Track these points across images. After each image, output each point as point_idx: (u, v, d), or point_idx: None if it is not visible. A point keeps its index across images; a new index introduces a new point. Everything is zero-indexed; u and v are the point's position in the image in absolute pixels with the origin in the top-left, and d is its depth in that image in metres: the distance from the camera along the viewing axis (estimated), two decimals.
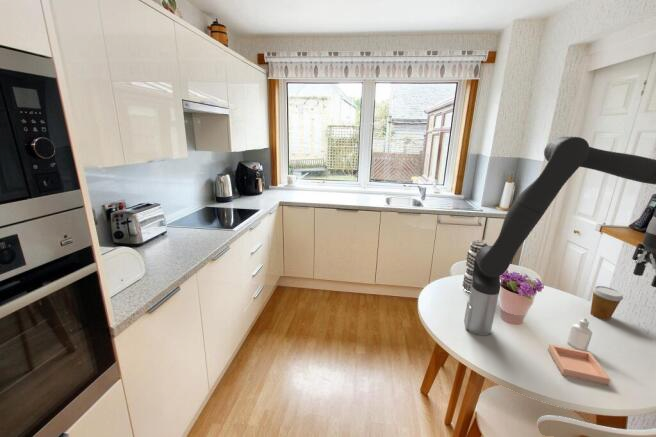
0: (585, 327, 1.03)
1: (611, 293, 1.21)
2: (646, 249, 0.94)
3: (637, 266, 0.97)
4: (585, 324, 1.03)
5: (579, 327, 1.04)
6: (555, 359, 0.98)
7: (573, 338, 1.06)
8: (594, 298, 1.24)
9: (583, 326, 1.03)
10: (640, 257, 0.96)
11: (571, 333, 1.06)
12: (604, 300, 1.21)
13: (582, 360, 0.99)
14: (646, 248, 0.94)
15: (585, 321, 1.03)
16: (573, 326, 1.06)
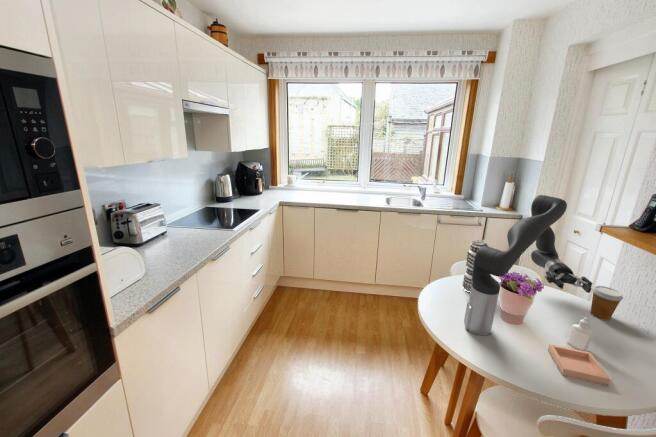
0: (585, 327, 1.03)
1: (611, 293, 1.21)
2: (557, 273, 1.21)
3: (560, 280, 1.16)
4: (585, 324, 1.03)
5: (579, 327, 1.04)
6: (555, 359, 0.98)
7: (573, 338, 1.06)
8: (594, 298, 1.24)
9: (583, 326, 1.03)
10: (560, 275, 1.18)
11: (571, 333, 1.06)
12: (604, 300, 1.21)
13: (582, 360, 0.99)
14: (557, 273, 1.21)
15: (585, 321, 1.03)
16: (573, 326, 1.06)
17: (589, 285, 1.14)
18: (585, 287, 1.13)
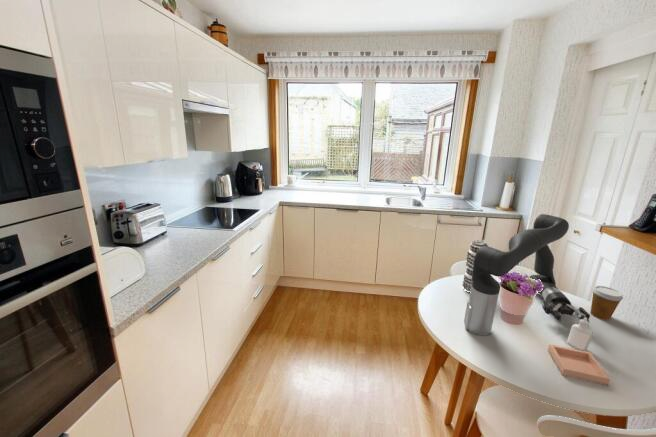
0: (585, 327, 1.03)
1: (611, 293, 1.21)
2: (555, 304, 1.20)
3: (557, 312, 1.14)
4: (585, 324, 1.03)
5: (579, 327, 1.04)
6: (555, 359, 0.98)
7: (573, 338, 1.06)
8: (594, 298, 1.24)
9: (583, 326, 1.03)
10: (557, 306, 1.17)
11: (571, 333, 1.06)
12: (604, 300, 1.21)
13: (582, 360, 0.99)
14: (554, 303, 1.20)
15: (585, 321, 1.03)
16: (573, 326, 1.06)
17: (587, 317, 1.13)
18: None
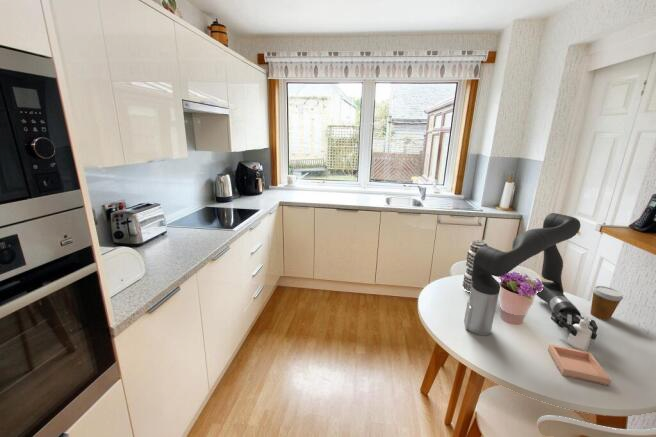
0: (585, 327, 1.03)
1: (611, 293, 1.21)
2: (563, 314, 1.13)
3: (573, 326, 1.06)
4: (586, 324, 1.03)
5: (579, 327, 1.04)
6: (555, 359, 0.98)
7: (573, 338, 1.06)
8: (594, 298, 1.24)
9: (583, 326, 1.03)
10: (569, 318, 1.09)
11: None
12: (604, 300, 1.21)
13: (582, 360, 0.99)
14: (562, 314, 1.13)
15: (585, 321, 1.03)
16: None
17: None
18: None
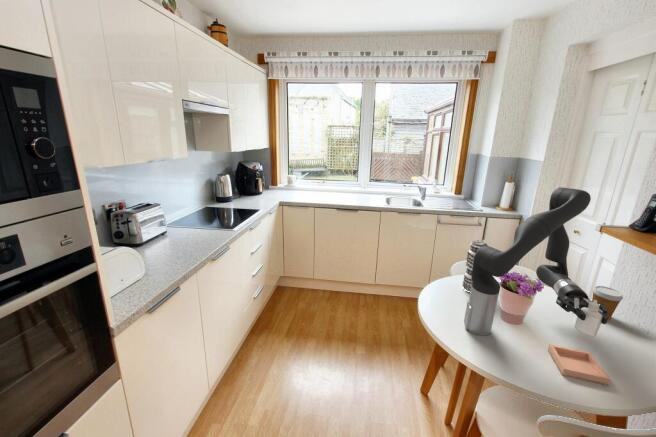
0: (595, 310, 0.93)
1: (611, 293, 1.21)
2: (569, 298, 1.03)
3: (581, 310, 0.96)
4: (595, 307, 0.93)
5: (588, 311, 0.94)
6: (555, 359, 0.98)
7: (581, 323, 0.96)
8: (594, 298, 1.24)
9: (593, 309, 0.93)
10: (577, 302, 0.99)
11: None
12: (604, 300, 1.21)
13: (582, 360, 0.99)
14: (568, 297, 1.03)
15: (595, 304, 0.93)
16: None
17: None
18: None
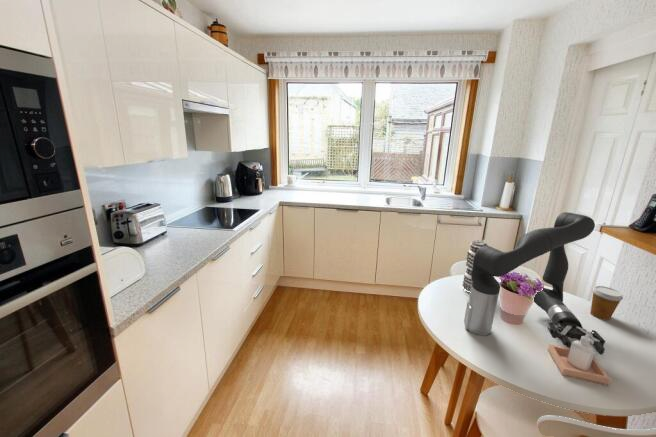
0: (586, 345, 0.93)
1: (611, 293, 1.21)
2: (563, 326, 1.02)
3: (566, 337, 0.97)
4: (587, 342, 0.93)
5: (580, 345, 0.94)
6: (555, 359, 0.98)
7: (573, 356, 0.96)
8: (594, 298, 1.24)
9: (585, 344, 0.93)
10: (566, 329, 0.99)
11: (571, 351, 0.97)
12: (604, 300, 1.21)
13: None
14: (562, 325, 1.03)
15: (587, 338, 0.93)
16: (573, 343, 0.96)
17: (601, 343, 0.95)
18: (597, 347, 0.94)
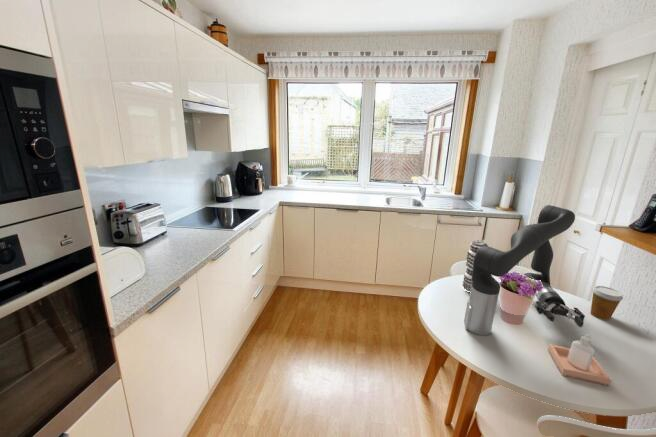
0: (586, 345, 0.93)
1: (611, 293, 1.21)
2: (548, 304, 1.14)
3: (551, 312, 1.09)
4: (587, 342, 0.93)
5: (580, 344, 0.94)
6: (555, 359, 0.98)
7: (573, 356, 0.96)
8: (594, 298, 1.24)
9: (584, 344, 0.94)
10: (551, 306, 1.11)
11: (571, 351, 0.97)
12: (604, 300, 1.21)
13: None
14: (548, 303, 1.15)
15: (587, 338, 0.93)
16: (573, 343, 0.96)
17: (581, 318, 1.07)
18: (577, 320, 1.06)
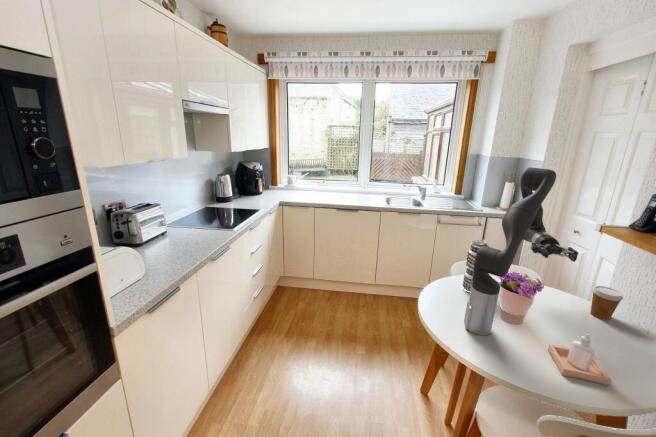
0: (586, 345, 0.93)
1: (611, 293, 1.21)
2: (543, 244, 1.18)
3: (545, 250, 1.13)
4: (587, 342, 0.93)
5: (580, 344, 0.94)
6: (555, 359, 0.98)
7: (573, 356, 0.96)
8: (594, 298, 1.24)
9: (584, 344, 0.94)
10: (546, 245, 1.15)
11: (571, 351, 0.97)
12: (604, 300, 1.21)
13: None
14: (543, 244, 1.19)
15: (587, 338, 0.93)
16: (573, 343, 0.96)
17: (575, 254, 1.11)
18: (571, 256, 1.10)
